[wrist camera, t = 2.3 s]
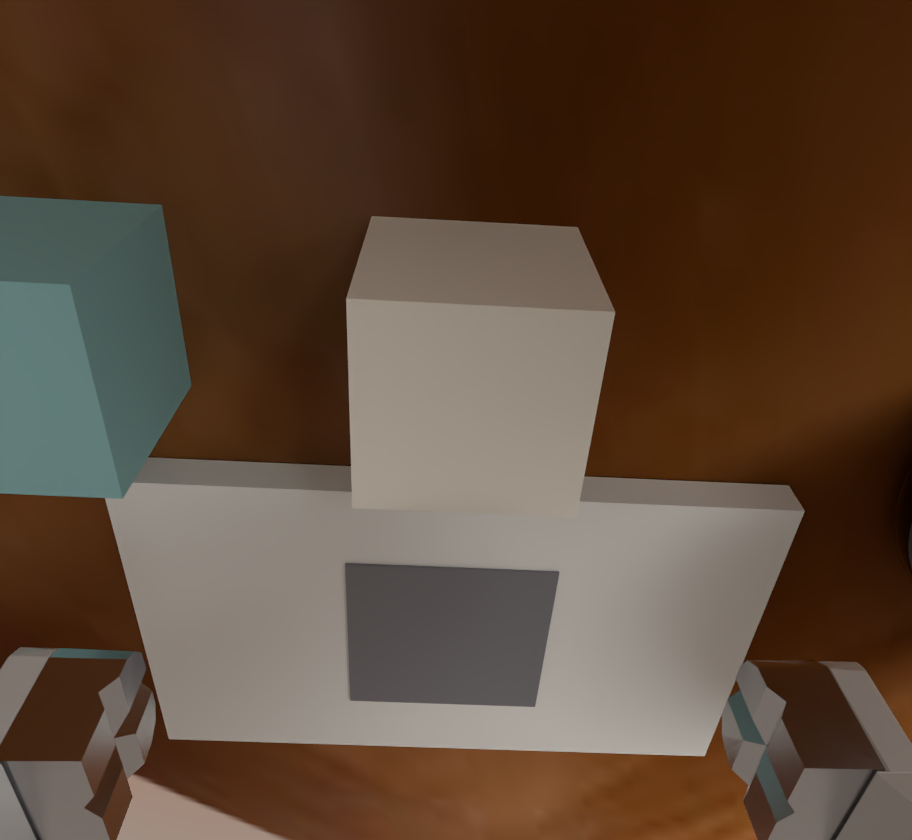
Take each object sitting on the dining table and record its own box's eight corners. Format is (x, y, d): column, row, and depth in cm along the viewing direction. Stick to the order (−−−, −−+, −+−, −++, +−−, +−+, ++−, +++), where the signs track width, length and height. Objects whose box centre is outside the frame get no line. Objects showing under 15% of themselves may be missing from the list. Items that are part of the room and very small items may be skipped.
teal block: (162, 203, 17) (68, 284, 13) (192, 384, 20) (122, 498, 16) (-50, 191, 17) (-212, 270, 13) (8, 375, 20) (-111, 488, 16)
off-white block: (576, 226, 18) (614, 312, 14) (551, 400, 20) (576, 517, 16) (372, 215, 18) (346, 298, 13) (373, 392, 20) (352, 508, 16)
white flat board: (788, 485, 22) (806, 513, 21) (695, 727, 28) (705, 758, 27) (116, 456, 21) (99, 483, 20) (179, 710, 28) (168, 741, 27)
